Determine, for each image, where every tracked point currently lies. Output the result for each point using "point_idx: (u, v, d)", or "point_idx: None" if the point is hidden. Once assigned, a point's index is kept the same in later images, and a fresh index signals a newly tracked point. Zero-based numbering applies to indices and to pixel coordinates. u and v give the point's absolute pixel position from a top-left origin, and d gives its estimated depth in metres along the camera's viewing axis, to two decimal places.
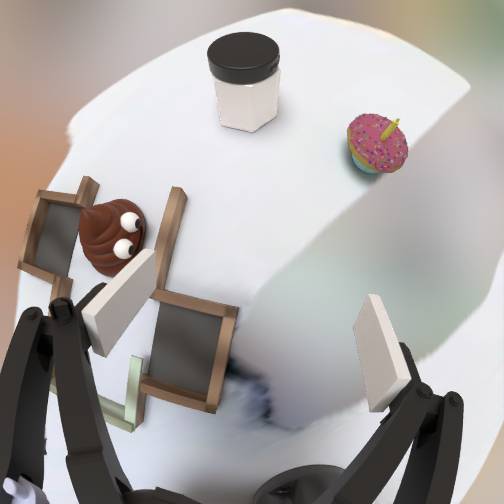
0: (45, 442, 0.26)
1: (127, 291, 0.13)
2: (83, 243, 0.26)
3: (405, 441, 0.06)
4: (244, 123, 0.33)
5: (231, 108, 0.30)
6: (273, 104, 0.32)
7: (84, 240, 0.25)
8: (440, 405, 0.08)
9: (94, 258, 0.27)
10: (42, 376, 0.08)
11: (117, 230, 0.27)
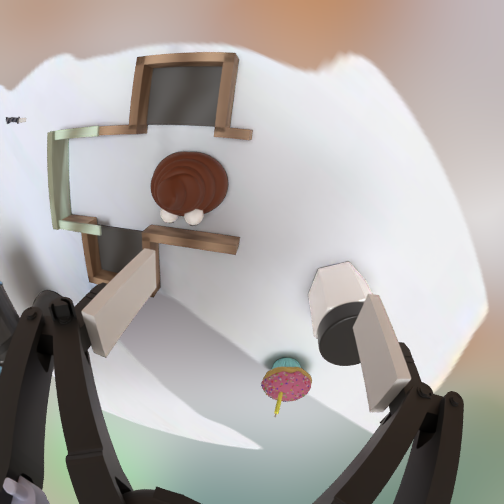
0: None
1: (127, 291, 0.13)
2: (157, 181, 0.28)
3: (405, 441, 0.06)
4: (311, 295, 0.37)
5: (317, 296, 0.34)
6: None
7: (157, 188, 0.28)
8: (440, 405, 0.08)
9: (152, 188, 0.30)
10: (42, 376, 0.08)
11: None
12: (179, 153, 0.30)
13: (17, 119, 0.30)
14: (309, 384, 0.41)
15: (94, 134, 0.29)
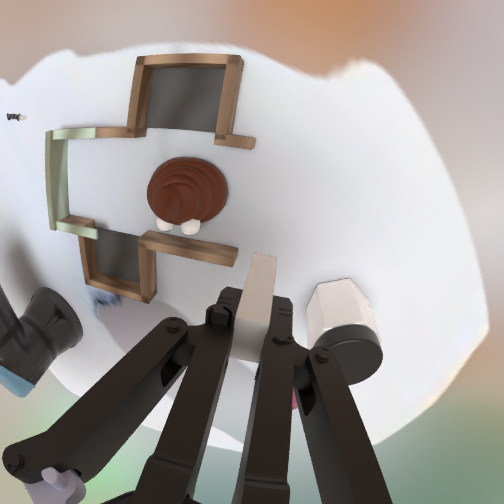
0: None
1: None
2: (153, 189, 0.27)
3: (284, 394, 0.08)
4: (309, 310, 0.36)
5: (314, 314, 0.33)
6: None
7: (152, 197, 0.27)
8: (307, 366, 0.10)
9: (148, 195, 0.29)
10: (157, 390, 0.09)
11: None
12: (177, 159, 0.29)
13: (18, 116, 0.30)
14: None
15: (92, 136, 0.28)
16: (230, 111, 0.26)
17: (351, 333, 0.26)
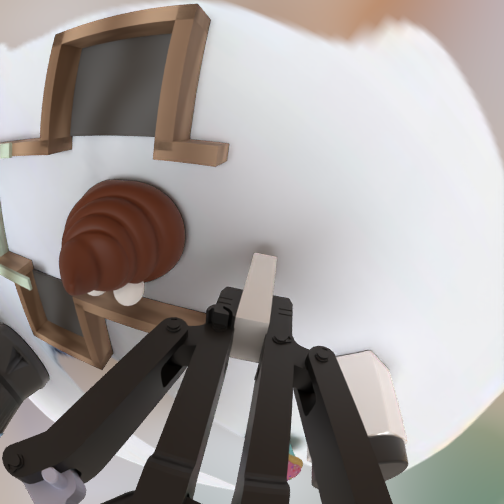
0: None
1: None
2: (63, 240, 0.15)
3: (284, 394, 0.08)
4: None
5: None
6: None
7: None
8: (307, 366, 0.10)
9: None
10: (157, 390, 0.09)
11: None
12: (104, 184, 0.17)
13: None
14: (299, 470, 0.27)
15: (6, 155, 0.15)
16: (180, 98, 0.14)
17: None
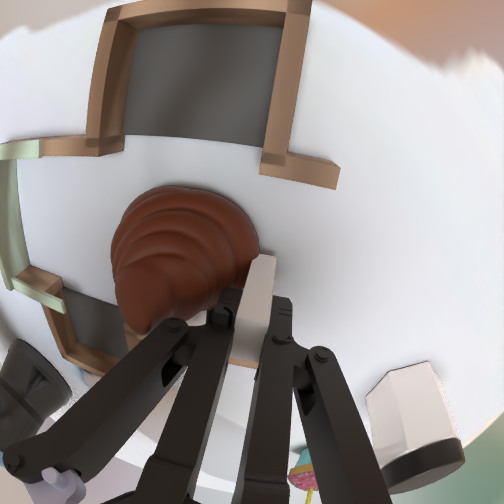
0: None
1: None
2: (117, 260, 0.13)
3: (284, 394, 0.08)
4: (373, 404, 0.22)
5: (386, 417, 0.19)
6: None
7: (116, 278, 0.13)
8: (307, 366, 0.10)
9: (112, 261, 0.15)
10: (157, 390, 0.09)
11: None
12: (166, 192, 0.15)
13: None
14: None
15: (34, 155, 0.14)
16: (294, 106, 0.12)
17: (441, 456, 0.12)
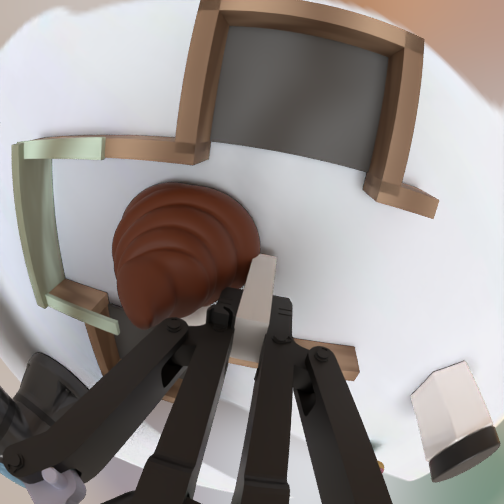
0: None
1: None
2: (119, 255, 0.13)
3: (284, 394, 0.08)
4: (419, 402, 0.22)
5: (434, 413, 0.19)
6: None
7: (117, 273, 0.13)
8: (307, 366, 0.10)
9: (113, 257, 0.15)
10: (157, 390, 0.09)
11: None
12: (168, 188, 0.15)
13: None
14: None
15: (94, 155, 0.14)
16: None
17: (484, 441, 0.12)
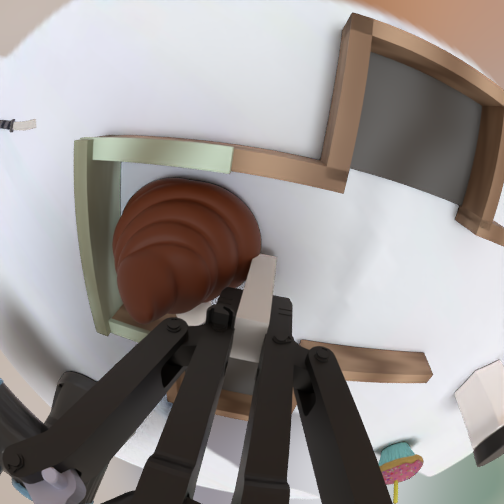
0: (7, 128, 0.16)
1: None
2: (120, 250, 0.13)
3: (284, 394, 0.08)
4: (463, 398, 0.22)
5: (477, 406, 0.19)
6: None
7: (118, 267, 0.13)
8: (307, 366, 0.10)
9: (114, 252, 0.15)
10: (157, 390, 0.09)
11: None
12: (169, 183, 0.15)
13: (10, 124, 0.16)
14: (421, 466, 0.25)
15: (219, 167, 0.13)
16: None
17: None
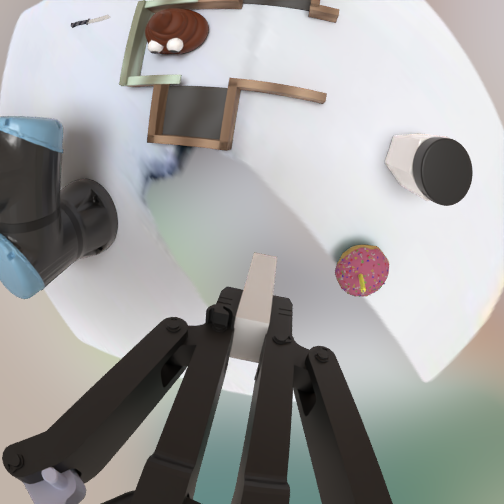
0: None
1: None
2: None
3: (284, 394, 0.08)
4: (390, 157, 0.33)
5: (401, 148, 0.30)
6: (405, 185, 0.33)
7: None
8: (307, 366, 0.10)
9: (146, 27, 0.26)
10: (157, 390, 0.09)
11: (162, 39, 0.27)
12: None
13: (87, 20, 0.28)
14: (388, 268, 0.37)
15: (193, 0, 0.25)
16: None
17: None
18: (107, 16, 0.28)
